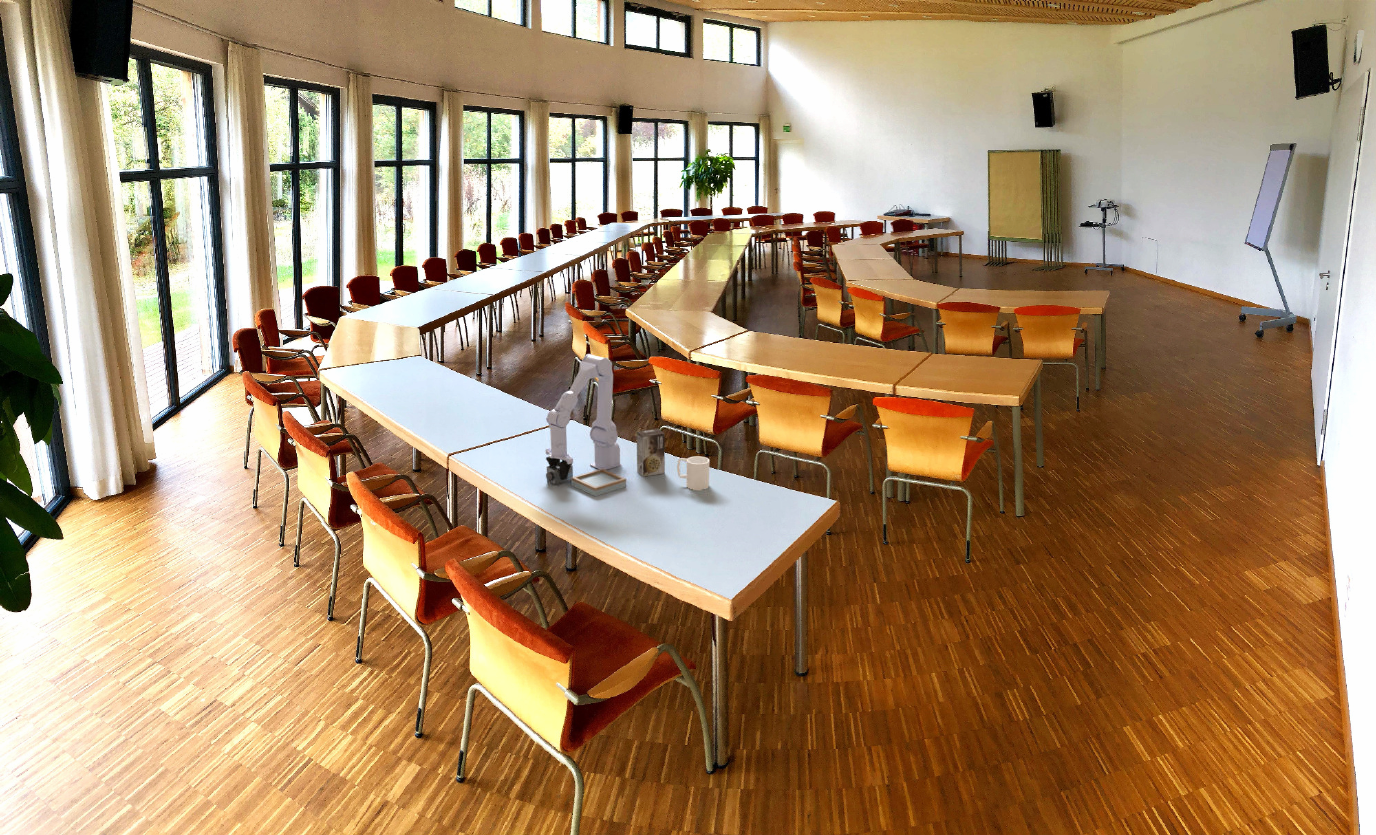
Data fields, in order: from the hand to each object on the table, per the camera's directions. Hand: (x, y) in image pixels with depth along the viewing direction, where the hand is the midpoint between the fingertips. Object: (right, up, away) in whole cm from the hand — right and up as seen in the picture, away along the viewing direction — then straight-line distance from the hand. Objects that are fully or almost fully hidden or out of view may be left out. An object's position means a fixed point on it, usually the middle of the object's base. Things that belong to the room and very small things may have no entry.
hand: (559, 477), depth 323 cm
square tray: (+15, -3, -3) cm, 15 cm away
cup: (+49, -3, -2) cm, 49 cm away
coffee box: (+33, +1, +10) cm, 34 cm away
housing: (0, -2, +1) cm, 2 cm away
